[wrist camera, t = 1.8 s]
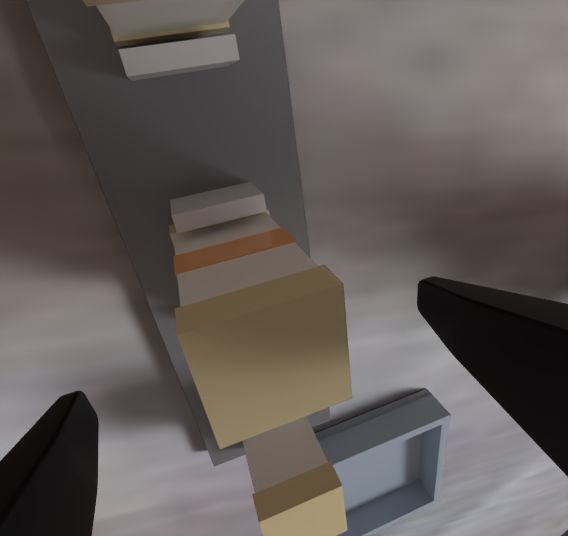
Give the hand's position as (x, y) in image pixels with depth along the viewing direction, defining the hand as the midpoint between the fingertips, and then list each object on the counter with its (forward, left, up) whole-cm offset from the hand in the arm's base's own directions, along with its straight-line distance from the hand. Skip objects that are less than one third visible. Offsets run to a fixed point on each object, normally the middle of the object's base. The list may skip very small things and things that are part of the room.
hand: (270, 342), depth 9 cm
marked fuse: (0, 0, -6) cm, 6 cm away
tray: (-6, +19, -7) cm, 21 cm away
